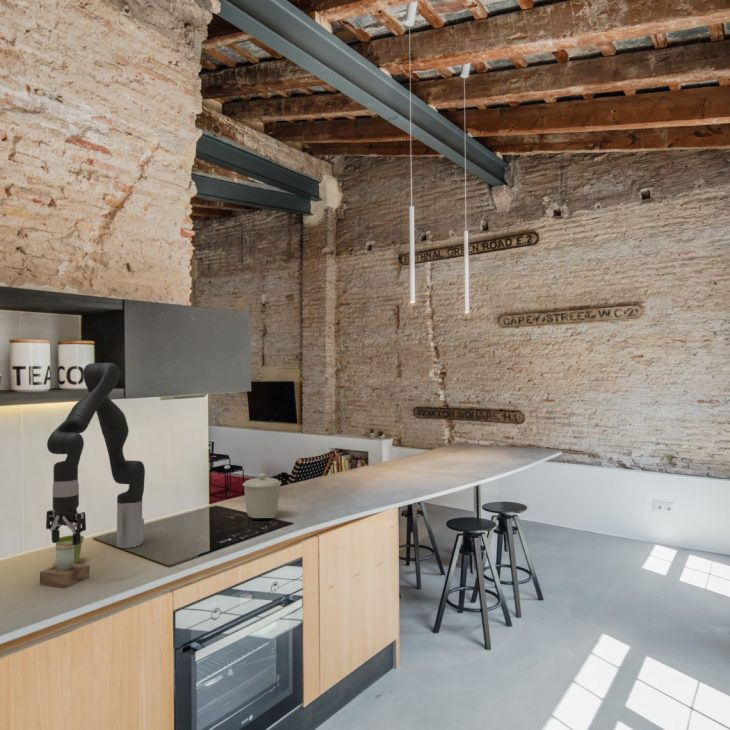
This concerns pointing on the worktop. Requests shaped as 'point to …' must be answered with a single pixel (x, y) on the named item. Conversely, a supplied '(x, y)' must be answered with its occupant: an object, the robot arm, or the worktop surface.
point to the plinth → (64, 576)
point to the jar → (64, 556)
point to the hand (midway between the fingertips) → (65, 543)
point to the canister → (262, 496)
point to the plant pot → (76, 548)
